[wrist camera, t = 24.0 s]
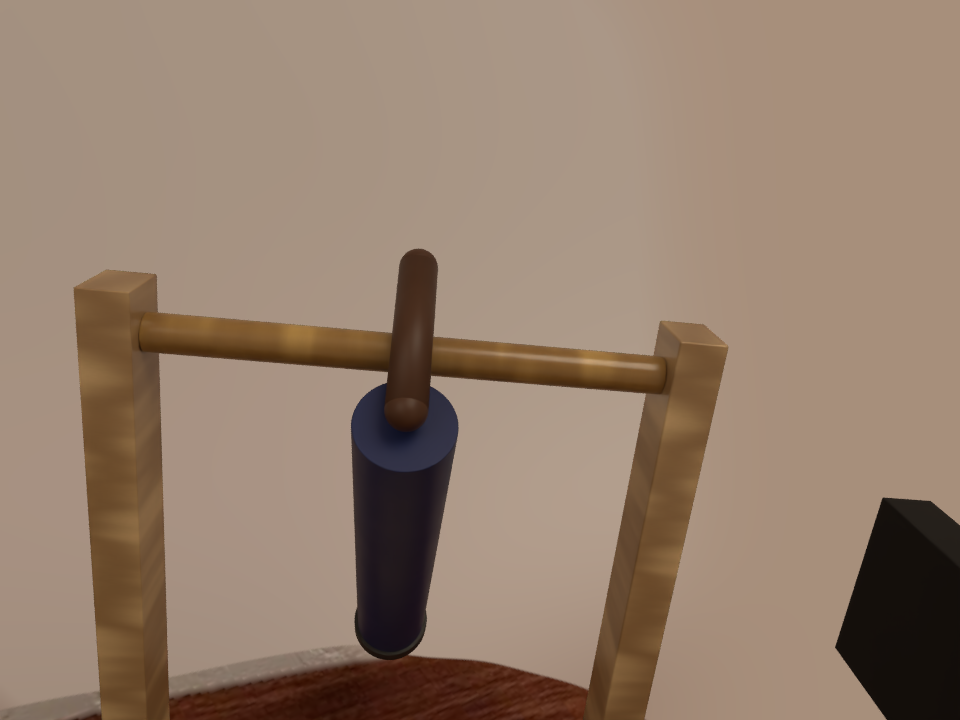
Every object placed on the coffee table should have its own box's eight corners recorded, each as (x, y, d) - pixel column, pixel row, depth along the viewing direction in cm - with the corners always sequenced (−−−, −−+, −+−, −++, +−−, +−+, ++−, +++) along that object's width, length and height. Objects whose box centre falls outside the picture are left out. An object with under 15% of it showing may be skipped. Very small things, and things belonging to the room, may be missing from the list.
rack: (584, 809, 46) (686, 308, 36) (613, 952, 38) (754, 367, 28) (151, 795, 43) (129, 256, 33) (91, 943, 36) (39, 305, 26)
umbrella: (423, 661, 47) (467, 456, 26) (350, 658, 46) (336, 447, 26) (432, 510, 53) (473, 245, 32) (367, 506, 52) (367, 235, 32)
